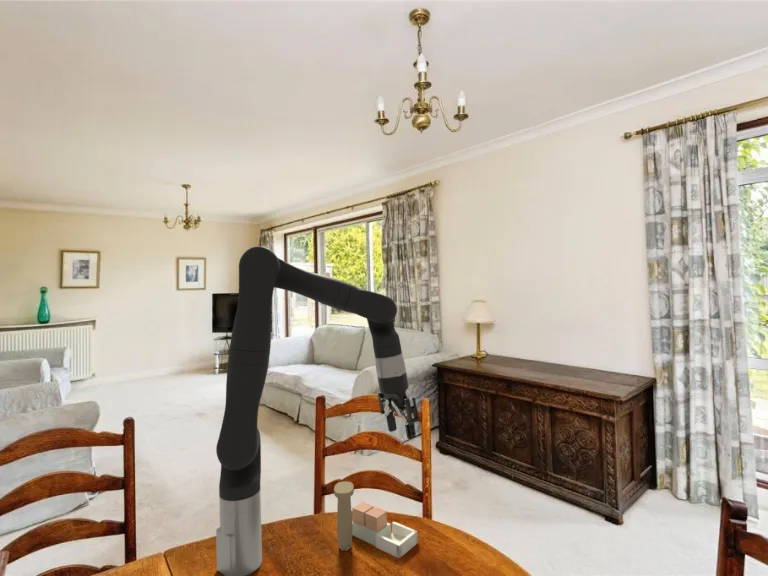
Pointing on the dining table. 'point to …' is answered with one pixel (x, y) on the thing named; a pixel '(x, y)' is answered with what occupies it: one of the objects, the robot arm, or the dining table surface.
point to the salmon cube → (376, 519)
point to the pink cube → (361, 512)
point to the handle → (344, 514)
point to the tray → (397, 540)
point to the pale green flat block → (369, 532)
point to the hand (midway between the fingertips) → (402, 434)
